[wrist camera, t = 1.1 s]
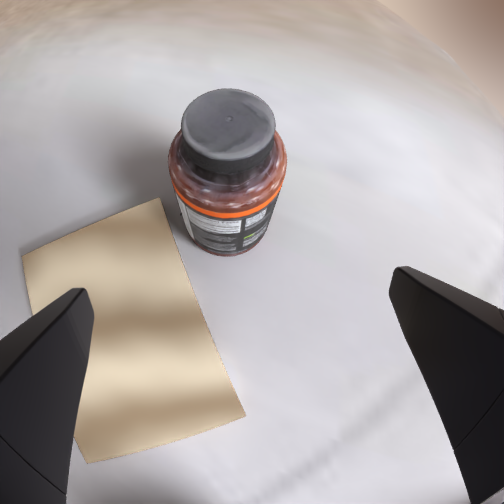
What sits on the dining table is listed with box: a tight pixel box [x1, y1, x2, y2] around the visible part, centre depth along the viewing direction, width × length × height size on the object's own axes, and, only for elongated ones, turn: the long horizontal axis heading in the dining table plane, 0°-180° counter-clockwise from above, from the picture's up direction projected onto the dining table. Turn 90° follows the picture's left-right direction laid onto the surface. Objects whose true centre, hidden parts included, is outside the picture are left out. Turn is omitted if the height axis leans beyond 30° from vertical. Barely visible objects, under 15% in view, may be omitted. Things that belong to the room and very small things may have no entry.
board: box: [22, 197, 246, 464], centre depth 20 cm, size 16×12×1 cm
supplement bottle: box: [168, 89, 287, 256], centre depth 18 cm, size 6×6×11 cm
